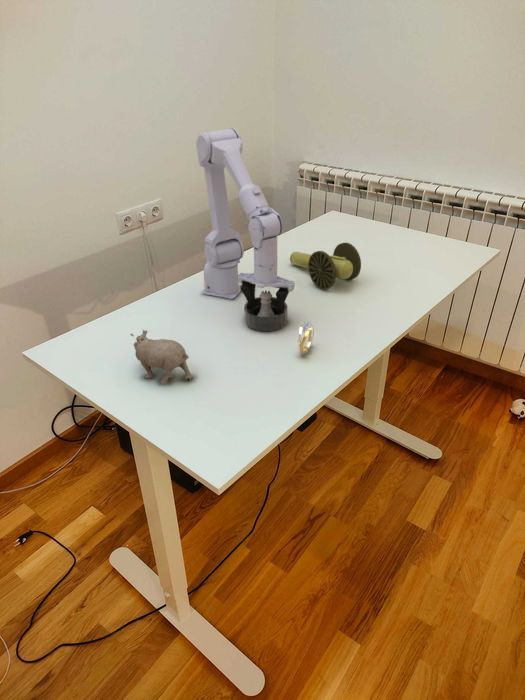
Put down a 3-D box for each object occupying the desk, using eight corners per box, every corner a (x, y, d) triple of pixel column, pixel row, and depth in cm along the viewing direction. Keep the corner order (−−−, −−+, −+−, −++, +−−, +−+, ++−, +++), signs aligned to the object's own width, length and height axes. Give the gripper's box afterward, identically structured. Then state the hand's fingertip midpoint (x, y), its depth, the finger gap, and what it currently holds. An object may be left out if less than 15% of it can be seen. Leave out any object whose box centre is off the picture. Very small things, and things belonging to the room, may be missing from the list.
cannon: (279, 268, 160) (280, 234, 153) (307, 258, 166) (309, 225, 159) (334, 297, 143) (337, 260, 137) (363, 285, 149) (367, 249, 143)
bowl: (238, 328, 130) (237, 313, 127) (254, 308, 138) (254, 293, 136) (278, 336, 126) (278, 320, 124) (292, 315, 135) (293, 300, 132)
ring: (304, 361, 117) (305, 332, 113) (292, 357, 119) (293, 328, 114) (317, 347, 122) (319, 318, 118) (306, 343, 124) (307, 315, 119)
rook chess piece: (272, 324, 130) (272, 297, 125) (256, 323, 131) (255, 295, 126) (275, 316, 133) (276, 289, 129) (259, 314, 134) (259, 287, 130)
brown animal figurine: (177, 390, 105) (145, 324, 103) (144, 400, 114) (115, 340, 113) (203, 375, 110) (173, 313, 108) (170, 386, 120) (143, 329, 118)
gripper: (231, 264, 122) (234, 312, 130) (288, 273, 118) (287, 323, 125) (243, 253, 127) (244, 300, 135) (297, 261, 123) (296, 309, 131)
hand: (265, 310), depth 131 cm, fingers open, 7 cm apart
